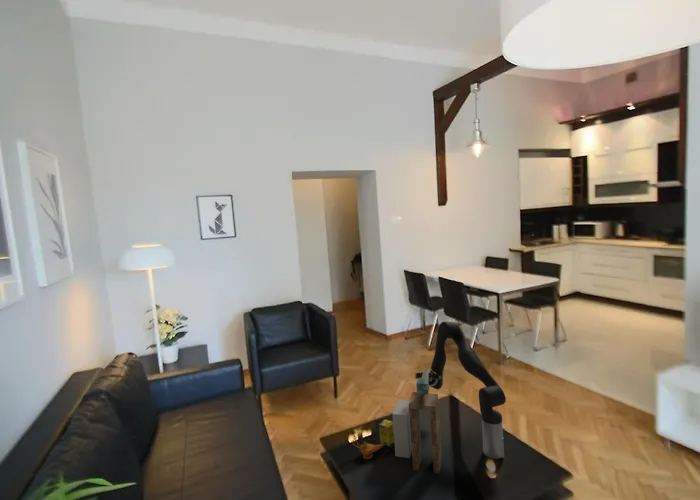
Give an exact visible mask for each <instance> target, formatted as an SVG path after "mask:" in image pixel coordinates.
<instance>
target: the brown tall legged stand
mask: <svg viewBox="0 0 700 500" xmlns="http://www.w3.org/2000/svg"><path fill="white" fill-rule="evenodd" d="M409 401H410V402H409V415H410V431H411V446H412V450H411V457H412V458H411V459H412V469H413V471H419V469H420V467H421V466H420V465H421V460H422V455H423V452H422V451H423V450H422V434H421V433H422V432H421V420H420V410H424V411H429V416H430V431H431V447H432V448H431V449H432V451H431V452H432V464H433V466H432V467H433V474H440V473H441V472H440V471H441V466H442V465H441V464H442V440H441V425H440V424H441V423H440V408H439V394H438V393H433V392H431V393H430V392H428V394H417V391H412V393H411V397H410V399H409Z"/></svg>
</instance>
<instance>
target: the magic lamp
mask: <svg viewBox="0 0 700 500" xmlns="http://www.w3.org/2000/svg"><path fill="white" fill-rule="evenodd" d="M352 438H353V440H352V442H351V443H352V445H353V446H354V447H357V448H358V449H359V451H360V453H362V458H363V459H364V460H370V459H372V458H373V453H374V452H376V451H378V450H380V449H381V448H382V447H383V446H385V445H386V444H388V443H387V442H385V443H381V444H380V443H379V444H373V443H367V442H366V441H364V442H363V443H362V444H359V443H358V441H357V436H356V435H355V434H353V436H352ZM354 441H355V442H356V444H357V445H356V444H355V443H354Z"/></svg>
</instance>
